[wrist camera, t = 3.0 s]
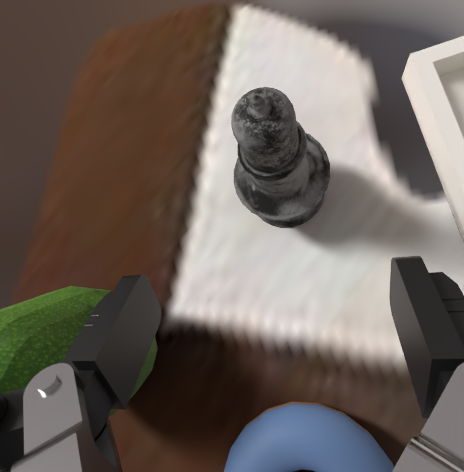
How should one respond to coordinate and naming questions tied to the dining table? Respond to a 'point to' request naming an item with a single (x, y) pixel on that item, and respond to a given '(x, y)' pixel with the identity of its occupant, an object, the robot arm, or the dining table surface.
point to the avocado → (48, 335)
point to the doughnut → (305, 442)
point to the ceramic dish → (441, 114)
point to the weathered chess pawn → (277, 160)
